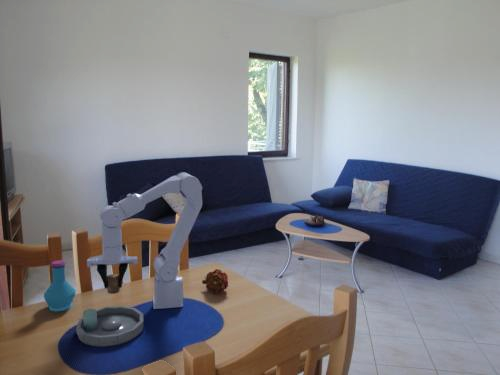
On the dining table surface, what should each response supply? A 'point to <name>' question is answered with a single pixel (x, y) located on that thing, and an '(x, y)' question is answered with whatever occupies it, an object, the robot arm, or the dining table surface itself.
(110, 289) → the bead walnut
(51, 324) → the dining table surface
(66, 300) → the perfume bottle
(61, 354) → the dining table surface
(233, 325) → the dining table surface
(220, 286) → the brown pine cone
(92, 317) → the bead teal
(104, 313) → the tray
